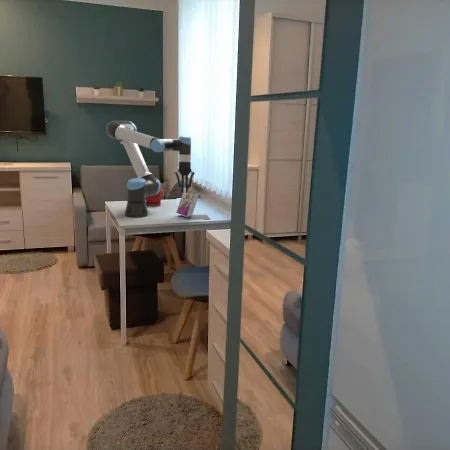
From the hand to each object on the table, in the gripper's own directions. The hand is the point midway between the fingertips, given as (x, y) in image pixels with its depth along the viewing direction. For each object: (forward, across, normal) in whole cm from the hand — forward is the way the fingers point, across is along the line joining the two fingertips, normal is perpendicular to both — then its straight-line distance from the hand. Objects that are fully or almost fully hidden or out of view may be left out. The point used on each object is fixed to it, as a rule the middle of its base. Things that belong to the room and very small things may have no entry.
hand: (184, 197), depth 283 cm
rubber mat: (+13, +10, -1) cm, 16 cm away
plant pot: (+13, -18, +39) cm, 45 cm away
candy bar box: (+12, 0, 0) cm, 12 cm away
